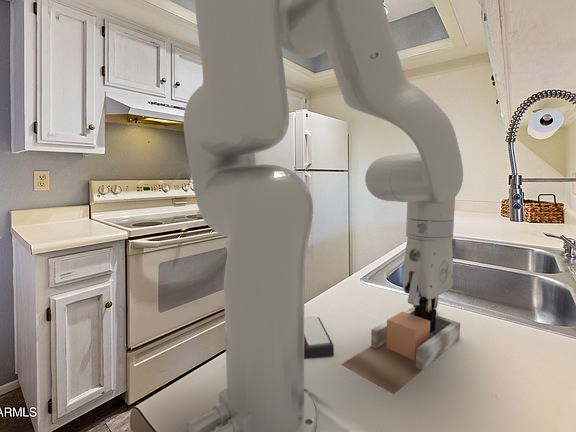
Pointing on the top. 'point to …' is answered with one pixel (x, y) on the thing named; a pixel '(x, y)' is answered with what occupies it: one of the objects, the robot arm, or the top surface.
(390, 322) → the block
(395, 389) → the metal sorting tray
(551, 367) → the top surface
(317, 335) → the calculator
